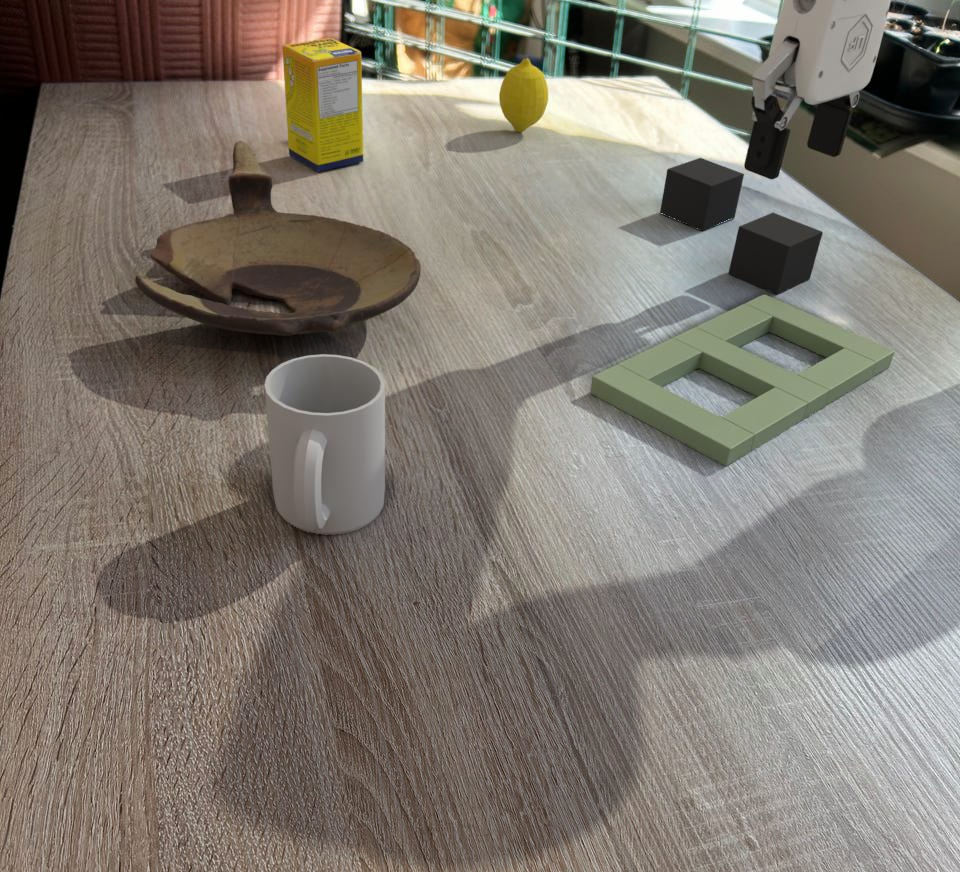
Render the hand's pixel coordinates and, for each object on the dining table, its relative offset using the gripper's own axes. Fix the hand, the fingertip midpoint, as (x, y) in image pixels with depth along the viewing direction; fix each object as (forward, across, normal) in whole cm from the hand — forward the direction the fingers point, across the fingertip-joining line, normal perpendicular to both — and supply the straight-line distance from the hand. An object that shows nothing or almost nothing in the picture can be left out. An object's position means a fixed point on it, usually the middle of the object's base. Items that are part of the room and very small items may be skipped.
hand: (792, 162), depth 96 cm
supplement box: (+11, -14, +47) cm, 50 cm away
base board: (+10, -18, -10) cm, 23 cm away
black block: (+10, 0, 0) cm, 10 cm away
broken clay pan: (+11, -38, +23) cm, 45 cm away
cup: (+11, -54, -3) cm, 56 cm away
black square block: (+10, +6, +13) cm, 18 cm away
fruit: (+11, +10, +40) cm, 43 cm away
